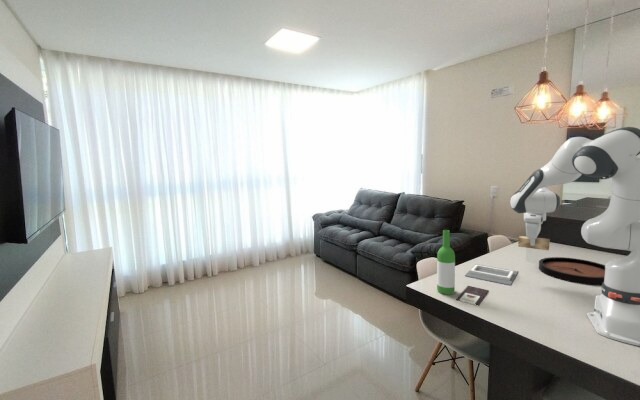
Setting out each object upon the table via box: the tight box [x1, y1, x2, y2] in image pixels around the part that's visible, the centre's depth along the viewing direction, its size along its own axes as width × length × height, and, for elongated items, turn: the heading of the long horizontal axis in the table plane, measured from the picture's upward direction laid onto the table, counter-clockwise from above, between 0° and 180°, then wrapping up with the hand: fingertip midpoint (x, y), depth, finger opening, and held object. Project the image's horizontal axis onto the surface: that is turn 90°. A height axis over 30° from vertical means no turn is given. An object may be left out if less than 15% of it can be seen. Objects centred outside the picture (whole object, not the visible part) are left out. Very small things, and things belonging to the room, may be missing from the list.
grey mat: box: [464, 263, 519, 286], centre depth 161 cm, size 22×21×2 cm
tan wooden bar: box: [517, 235, 551, 251], centre depth 145 cm, size 12×4×4 cm, turn 49°
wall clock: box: [538, 256, 606, 286], centre depth 157 cm, size 31×4×31 cm
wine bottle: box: [436, 229, 456, 295], centre depth 140 cm, size 8×8×30 cm
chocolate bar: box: [455, 285, 489, 306], centre depth 137 cm, size 9×1×18 cm
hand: (533, 243), depth 145 cm, fingers closed on tan wooden bar, 4 cm apart
